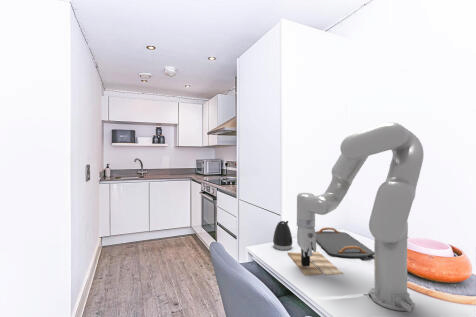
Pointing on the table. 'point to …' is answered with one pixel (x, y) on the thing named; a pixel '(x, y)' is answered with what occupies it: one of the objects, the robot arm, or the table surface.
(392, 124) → the robot arm
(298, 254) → the plank
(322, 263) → the laid boards
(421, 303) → the table surface
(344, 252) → the serving board
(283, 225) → the pump dispenser
